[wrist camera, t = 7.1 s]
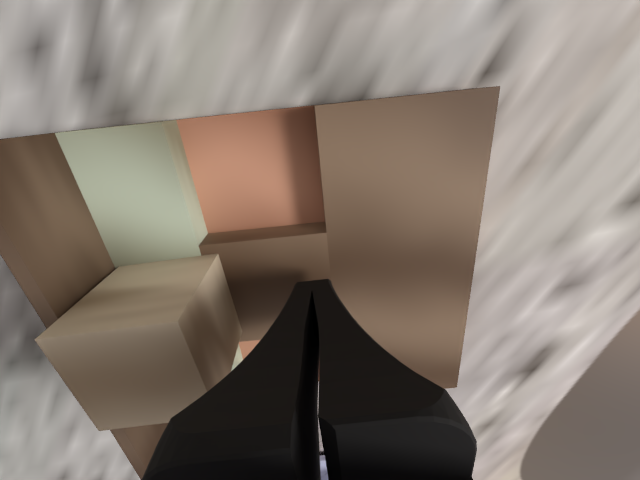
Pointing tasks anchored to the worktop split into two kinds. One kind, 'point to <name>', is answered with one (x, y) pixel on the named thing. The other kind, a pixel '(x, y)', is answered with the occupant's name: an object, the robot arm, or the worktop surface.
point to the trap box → (267, 215)
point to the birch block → (146, 341)
